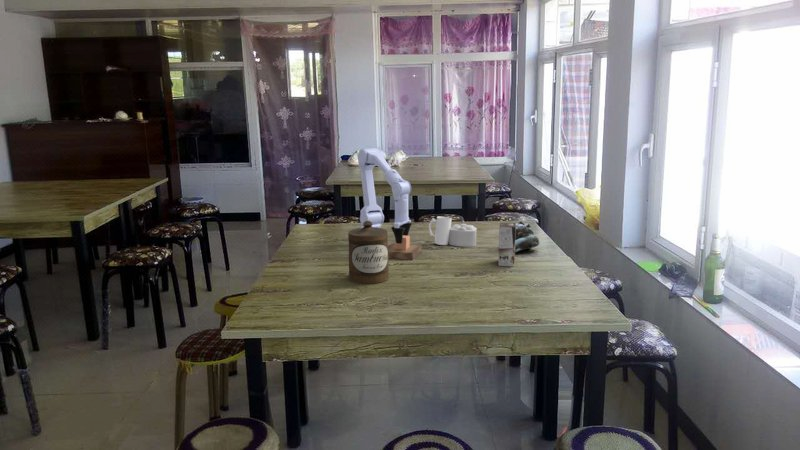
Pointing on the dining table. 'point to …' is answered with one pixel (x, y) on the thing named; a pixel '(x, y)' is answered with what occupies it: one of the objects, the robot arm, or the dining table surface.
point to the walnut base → (404, 252)
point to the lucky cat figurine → (525, 237)
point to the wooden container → (368, 254)
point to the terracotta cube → (403, 243)
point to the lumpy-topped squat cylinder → (462, 235)
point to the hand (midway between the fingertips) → (401, 241)
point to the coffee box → (507, 244)
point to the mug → (441, 230)
